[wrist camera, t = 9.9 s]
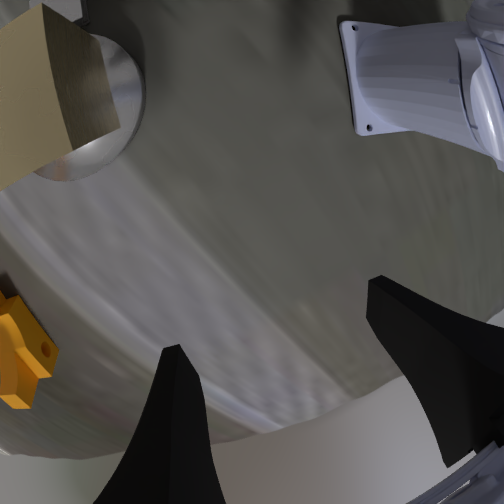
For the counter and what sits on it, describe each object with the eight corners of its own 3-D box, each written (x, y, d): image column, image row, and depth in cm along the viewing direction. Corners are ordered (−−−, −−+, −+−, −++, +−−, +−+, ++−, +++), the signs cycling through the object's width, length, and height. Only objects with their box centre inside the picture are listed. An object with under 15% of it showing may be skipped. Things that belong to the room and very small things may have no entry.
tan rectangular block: (99, 40, 10) (41, 2, 4) (121, 127, 12) (73, 151, 6) (18, 83, 9) (-66, 89, 3) (41, 164, 12) (-34, 214, 6)
